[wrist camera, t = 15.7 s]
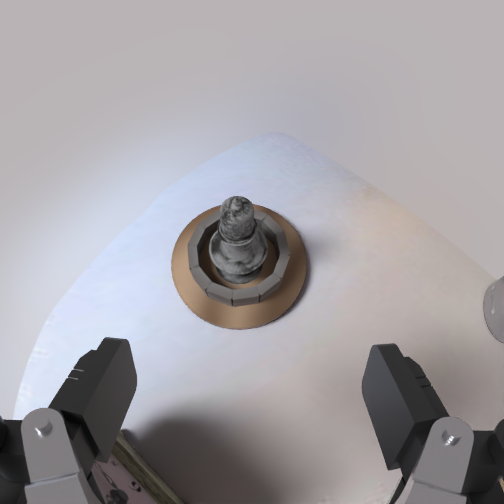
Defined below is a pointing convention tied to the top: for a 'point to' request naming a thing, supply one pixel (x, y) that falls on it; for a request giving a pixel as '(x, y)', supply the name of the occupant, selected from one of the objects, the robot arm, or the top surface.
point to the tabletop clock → (131, 478)
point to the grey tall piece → (238, 242)
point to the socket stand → (239, 295)
